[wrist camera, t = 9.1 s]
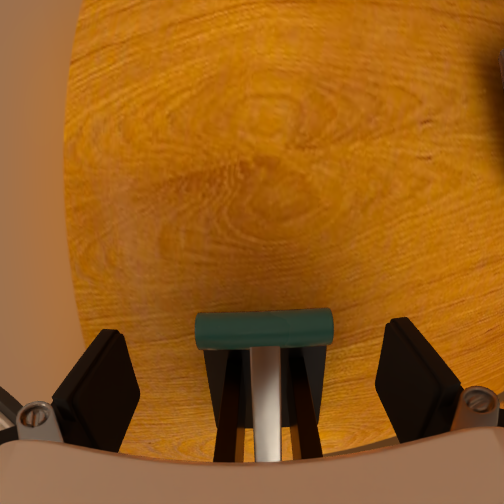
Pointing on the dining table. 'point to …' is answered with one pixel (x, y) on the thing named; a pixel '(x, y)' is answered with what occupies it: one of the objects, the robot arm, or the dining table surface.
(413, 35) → the dining table surface
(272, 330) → the lever
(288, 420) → the bracket
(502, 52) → the potted plant
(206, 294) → the dining table surface
